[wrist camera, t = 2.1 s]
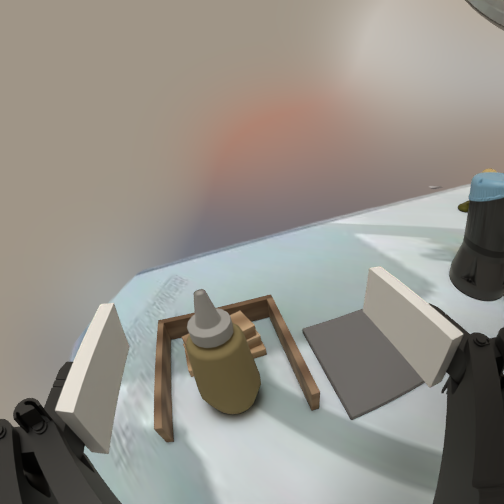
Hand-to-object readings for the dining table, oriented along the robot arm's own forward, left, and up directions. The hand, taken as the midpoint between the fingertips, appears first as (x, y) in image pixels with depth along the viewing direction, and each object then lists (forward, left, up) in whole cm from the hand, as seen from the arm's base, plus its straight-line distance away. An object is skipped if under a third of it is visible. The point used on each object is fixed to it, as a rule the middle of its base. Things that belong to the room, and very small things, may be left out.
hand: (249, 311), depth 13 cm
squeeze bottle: (-8, -9, -24) cm, 27 cm away
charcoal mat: (-20, +9, -24) cm, 32 cm away
